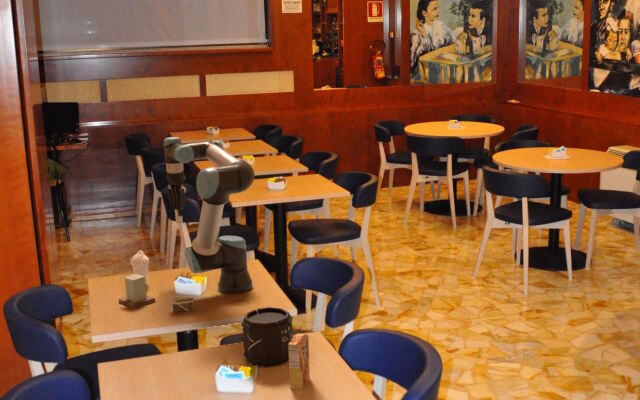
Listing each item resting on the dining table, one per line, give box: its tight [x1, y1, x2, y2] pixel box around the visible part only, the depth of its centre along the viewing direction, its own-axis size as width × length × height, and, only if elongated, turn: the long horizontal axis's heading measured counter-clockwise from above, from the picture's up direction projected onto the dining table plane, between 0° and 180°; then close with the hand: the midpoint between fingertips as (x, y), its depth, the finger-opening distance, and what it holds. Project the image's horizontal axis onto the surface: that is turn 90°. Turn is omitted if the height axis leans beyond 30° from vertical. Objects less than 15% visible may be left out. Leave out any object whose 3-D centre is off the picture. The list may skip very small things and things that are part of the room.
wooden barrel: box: [240, 306, 294, 368], centre depth 274 cm, size 18×18×16 cm
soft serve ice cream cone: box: [129, 249, 150, 285], centre depth 358 cm, size 8×8×16 cm
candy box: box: [288, 333, 311, 391], centre depth 254 cm, size 9×4×15 cm, turn 163°
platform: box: [169, 295, 195, 313], centre depth 323 cm, size 12×18×7 cm, turn 103°
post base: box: [118, 295, 156, 309], centre depth 336 cm, size 12×10×8 cm
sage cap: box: [124, 274, 148, 302], centre depth 336 cm, size 6×6×10 cm
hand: (179, 222), depth 360 cm, fingers closed
